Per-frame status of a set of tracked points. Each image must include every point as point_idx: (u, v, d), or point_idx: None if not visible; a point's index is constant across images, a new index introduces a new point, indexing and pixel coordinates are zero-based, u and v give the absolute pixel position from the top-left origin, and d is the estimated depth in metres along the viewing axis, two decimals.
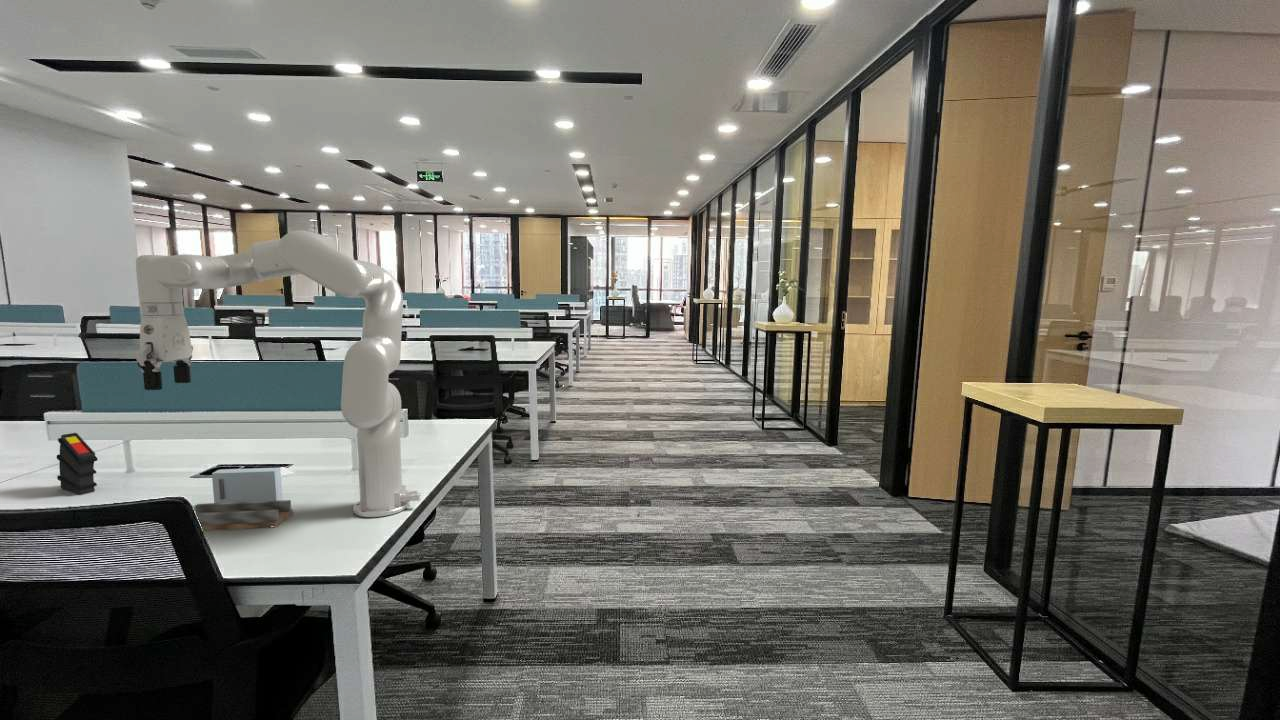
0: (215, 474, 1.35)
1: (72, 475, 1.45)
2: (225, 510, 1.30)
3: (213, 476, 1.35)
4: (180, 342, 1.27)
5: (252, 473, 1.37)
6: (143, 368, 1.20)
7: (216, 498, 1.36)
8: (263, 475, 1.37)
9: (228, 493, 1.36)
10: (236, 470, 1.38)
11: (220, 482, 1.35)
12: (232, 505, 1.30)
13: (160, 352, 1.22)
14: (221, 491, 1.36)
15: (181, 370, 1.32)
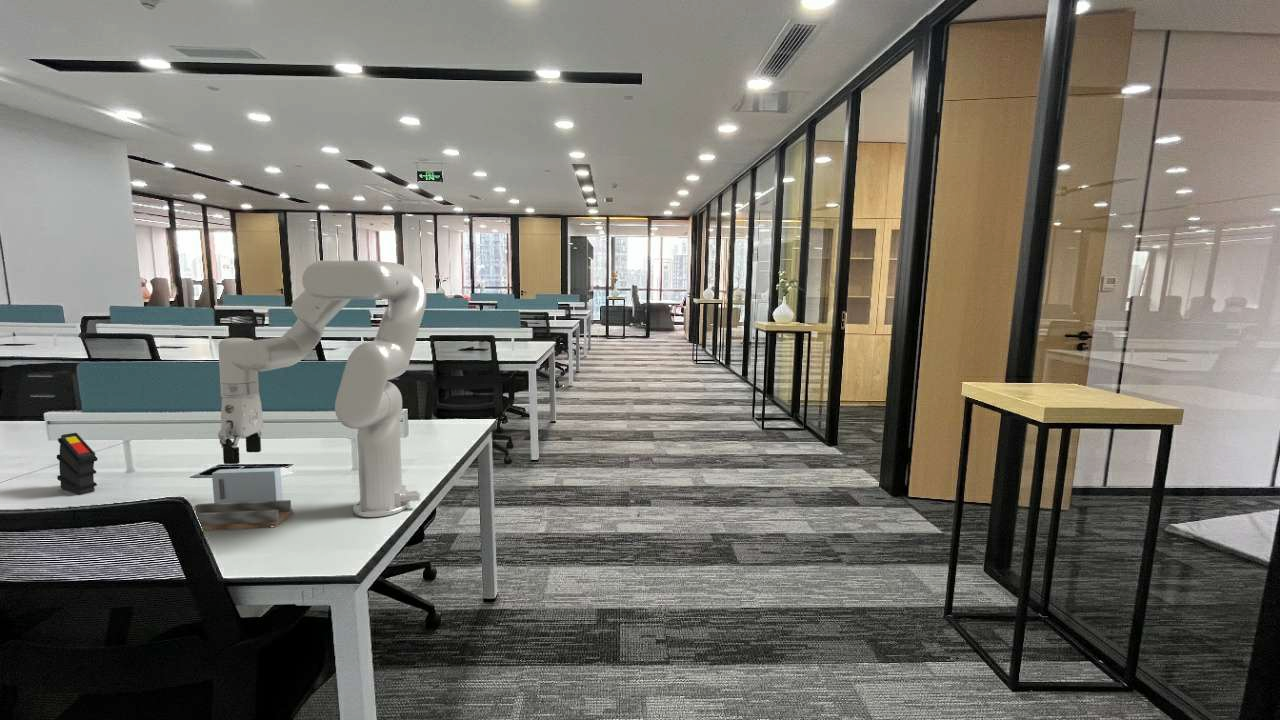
0: (215, 474, 1.35)
1: (72, 475, 1.45)
2: (225, 510, 1.30)
3: (213, 476, 1.35)
4: (255, 417, 1.37)
5: (252, 473, 1.37)
6: (224, 445, 1.30)
7: (216, 498, 1.36)
8: (263, 475, 1.37)
9: (228, 493, 1.36)
10: (236, 470, 1.38)
11: (220, 482, 1.35)
12: (232, 505, 1.30)
13: (239, 429, 1.32)
14: (221, 491, 1.36)
15: (253, 441, 1.41)
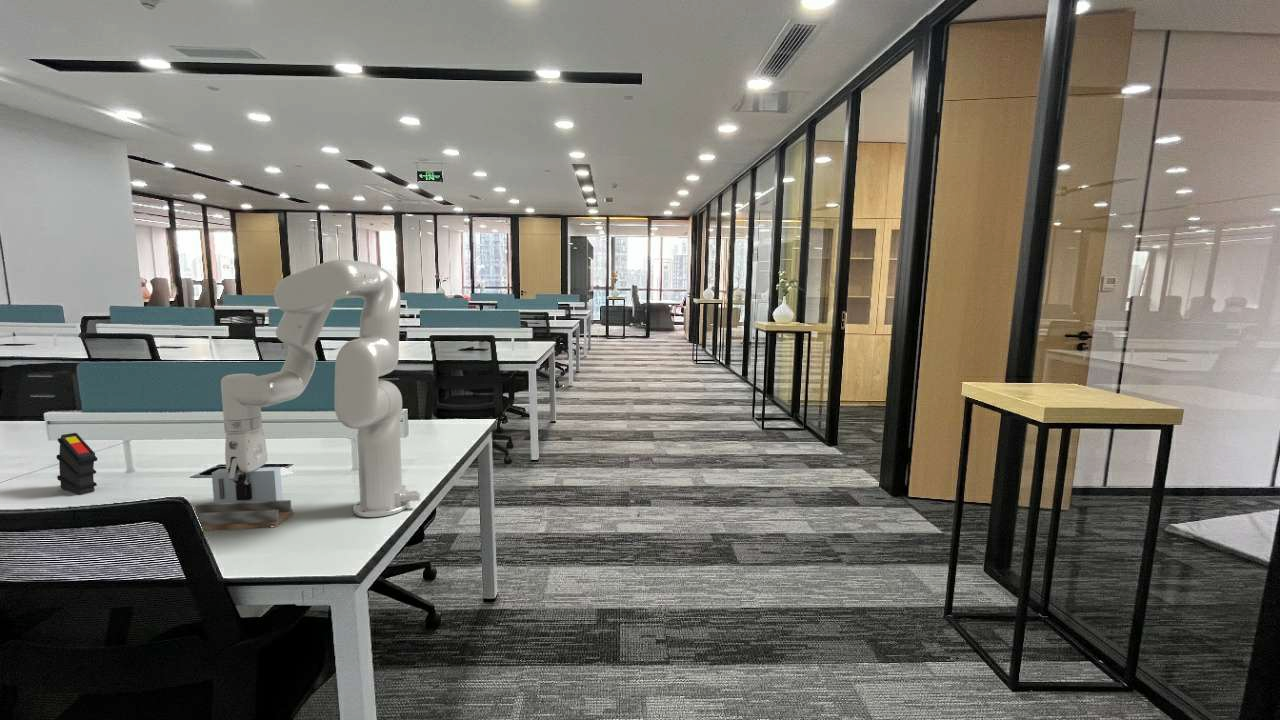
0: (215, 473, 1.35)
1: (72, 475, 1.45)
2: (225, 510, 1.30)
3: (213, 475, 1.35)
4: (259, 452, 1.38)
5: (252, 473, 1.37)
6: (236, 482, 1.34)
7: (216, 497, 1.36)
8: (263, 475, 1.37)
9: (227, 492, 1.36)
10: None
11: (220, 481, 1.35)
12: (232, 505, 1.30)
13: (243, 465, 1.33)
14: (221, 490, 1.36)
15: None
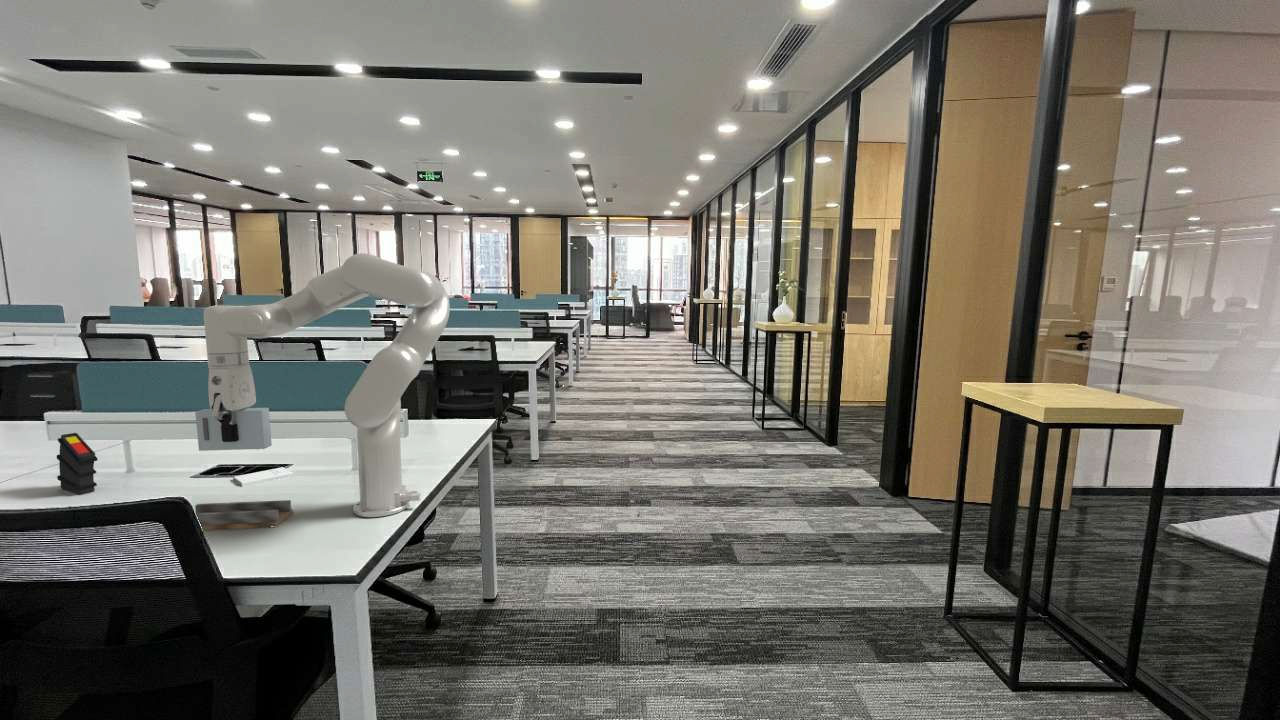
0: (199, 413, 1.26)
1: (72, 475, 1.45)
2: (225, 510, 1.30)
3: (197, 415, 1.26)
4: (245, 390, 1.28)
5: (238, 412, 1.27)
6: (221, 422, 1.25)
7: (200, 439, 1.27)
8: (249, 415, 1.27)
9: (212, 433, 1.27)
10: None
11: (204, 421, 1.26)
12: (232, 505, 1.30)
13: (228, 402, 1.23)
14: (205, 431, 1.26)
15: None
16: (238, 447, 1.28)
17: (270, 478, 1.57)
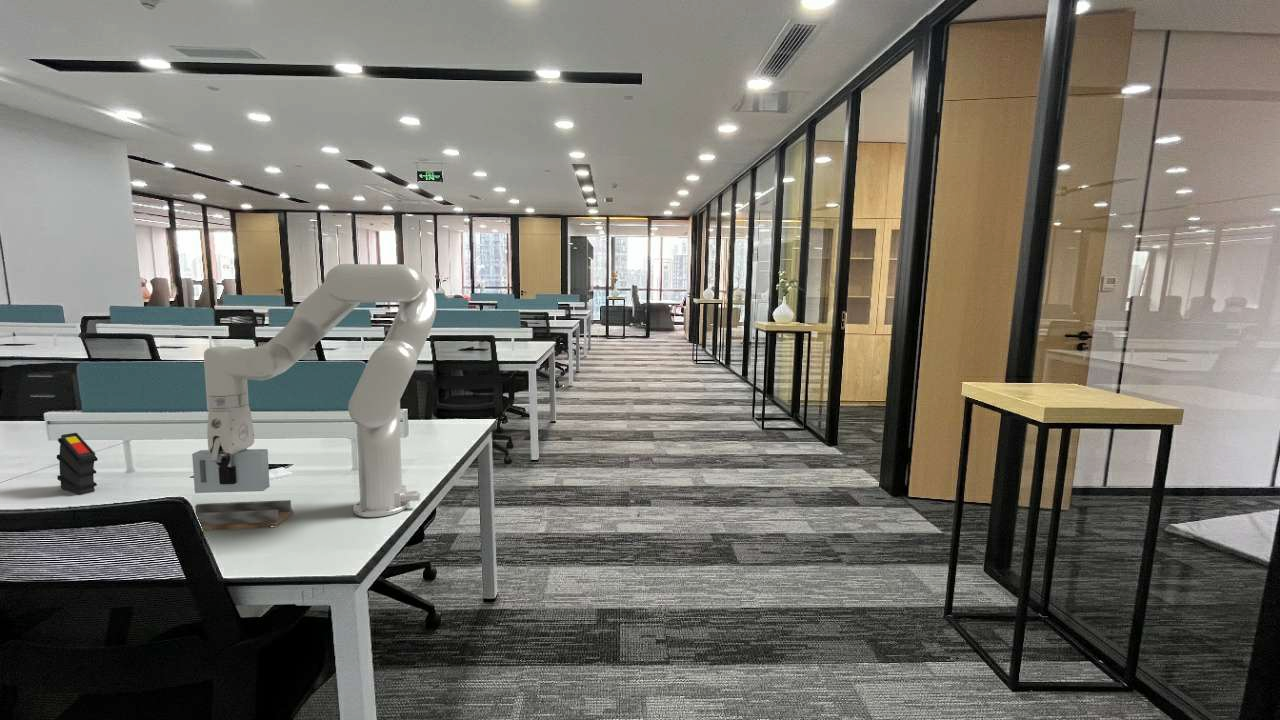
0: (196, 455, 1.24)
1: (72, 475, 1.45)
2: (225, 510, 1.30)
3: (193, 457, 1.24)
4: (244, 432, 1.27)
5: (237, 454, 1.25)
6: (219, 464, 1.23)
7: (196, 481, 1.25)
8: (248, 457, 1.26)
9: (209, 475, 1.25)
10: None
11: (201, 464, 1.24)
12: (232, 505, 1.30)
13: (227, 446, 1.21)
14: (202, 473, 1.24)
15: None
16: (236, 489, 1.26)
17: (270, 478, 1.57)
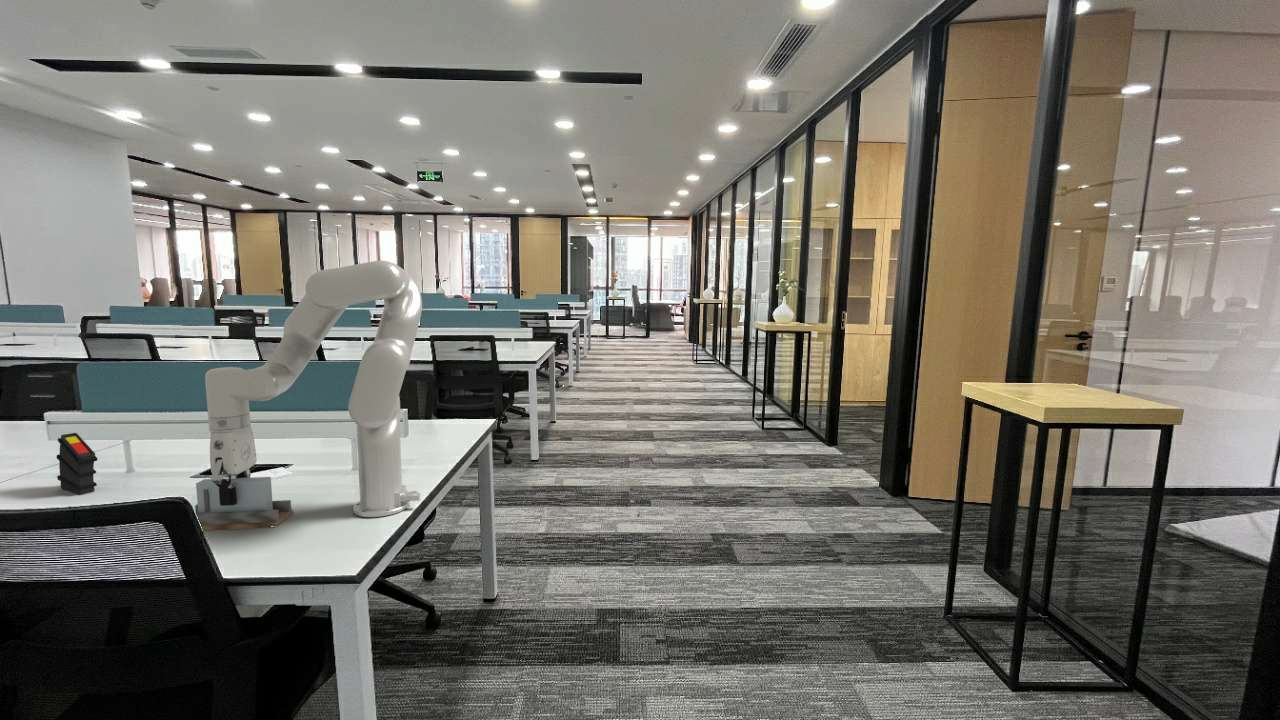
0: (199, 484, 1.25)
1: (72, 475, 1.45)
2: None
3: (197, 486, 1.25)
4: (247, 452, 1.27)
5: (240, 483, 1.26)
6: (220, 486, 1.22)
7: (200, 510, 1.25)
8: (252, 486, 1.26)
9: (213, 504, 1.26)
10: None
11: (205, 493, 1.25)
12: None
13: (230, 467, 1.22)
14: (206, 503, 1.25)
15: None
16: None
17: None
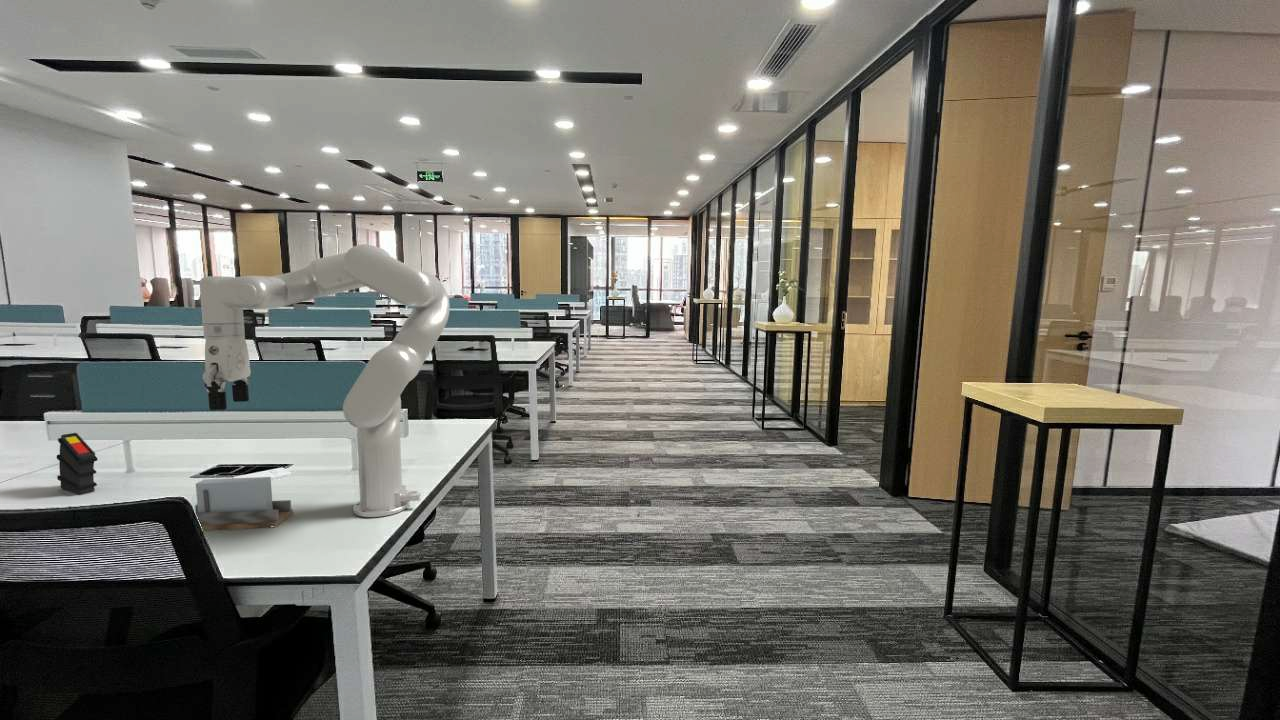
0: (199, 484, 1.25)
1: (72, 475, 1.45)
2: None
3: (197, 487, 1.25)
4: (241, 362, 1.29)
5: (240, 483, 1.26)
6: (209, 389, 1.22)
7: (200, 510, 1.25)
8: (252, 486, 1.26)
9: (213, 505, 1.26)
10: (222, 480, 1.27)
11: (205, 493, 1.25)
12: None
13: (225, 372, 1.23)
14: (206, 503, 1.25)
15: (240, 389, 1.33)
16: None
17: None
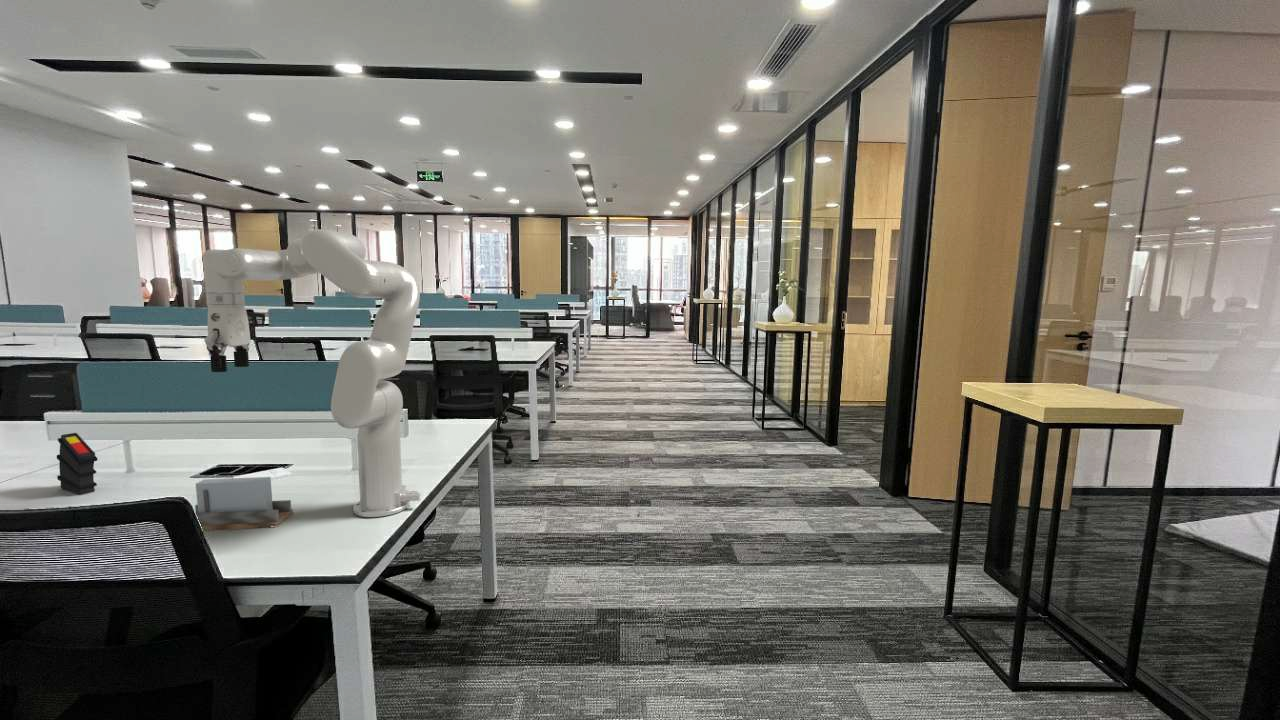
0: (199, 484, 1.25)
1: (72, 475, 1.45)
2: None
3: (197, 487, 1.25)
4: (241, 329, 1.40)
5: (240, 483, 1.26)
6: (211, 352, 1.33)
7: (200, 510, 1.25)
8: (252, 486, 1.26)
9: (213, 505, 1.26)
10: (222, 480, 1.27)
11: (205, 493, 1.25)
12: None
13: (225, 338, 1.34)
14: (206, 503, 1.25)
15: (240, 355, 1.44)
16: None
17: None
